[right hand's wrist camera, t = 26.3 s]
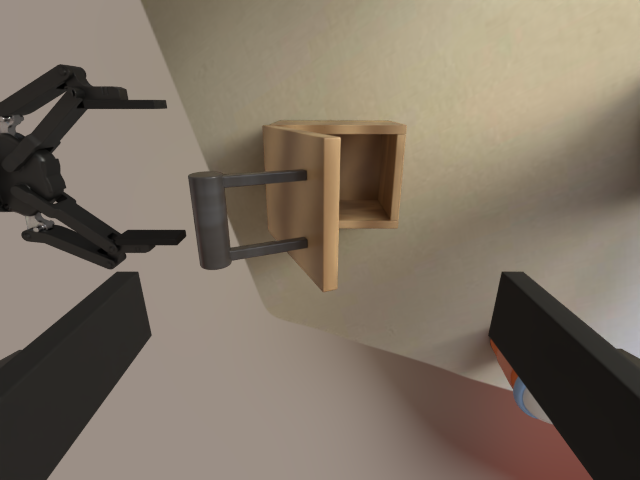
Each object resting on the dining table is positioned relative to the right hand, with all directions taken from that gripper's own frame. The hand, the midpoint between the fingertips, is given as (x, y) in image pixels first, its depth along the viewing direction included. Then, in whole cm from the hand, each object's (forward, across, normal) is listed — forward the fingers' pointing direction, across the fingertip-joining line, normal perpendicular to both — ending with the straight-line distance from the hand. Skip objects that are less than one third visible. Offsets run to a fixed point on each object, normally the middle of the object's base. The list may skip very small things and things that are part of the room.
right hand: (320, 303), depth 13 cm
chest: (+32, +2, 0) cm, 32 cm away
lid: (+16, -1, 0) cm, 16 cm away
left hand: (+25, -15, 0) cm, 29 cm away
